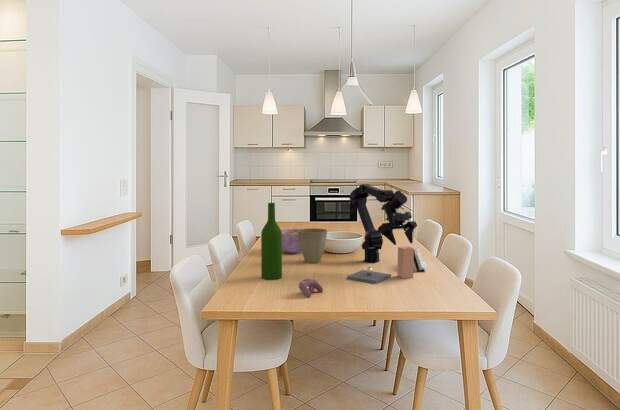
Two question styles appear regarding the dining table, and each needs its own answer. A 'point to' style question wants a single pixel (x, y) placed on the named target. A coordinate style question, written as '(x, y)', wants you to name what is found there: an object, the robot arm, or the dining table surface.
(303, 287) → the video game controller
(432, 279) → the dining table surface
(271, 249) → the wine bottle
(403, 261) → the terracotta sleeve
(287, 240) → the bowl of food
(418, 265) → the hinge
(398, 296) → the dining table surface
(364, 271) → the charcoal plate
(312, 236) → the plant pot
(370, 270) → the metal stub
